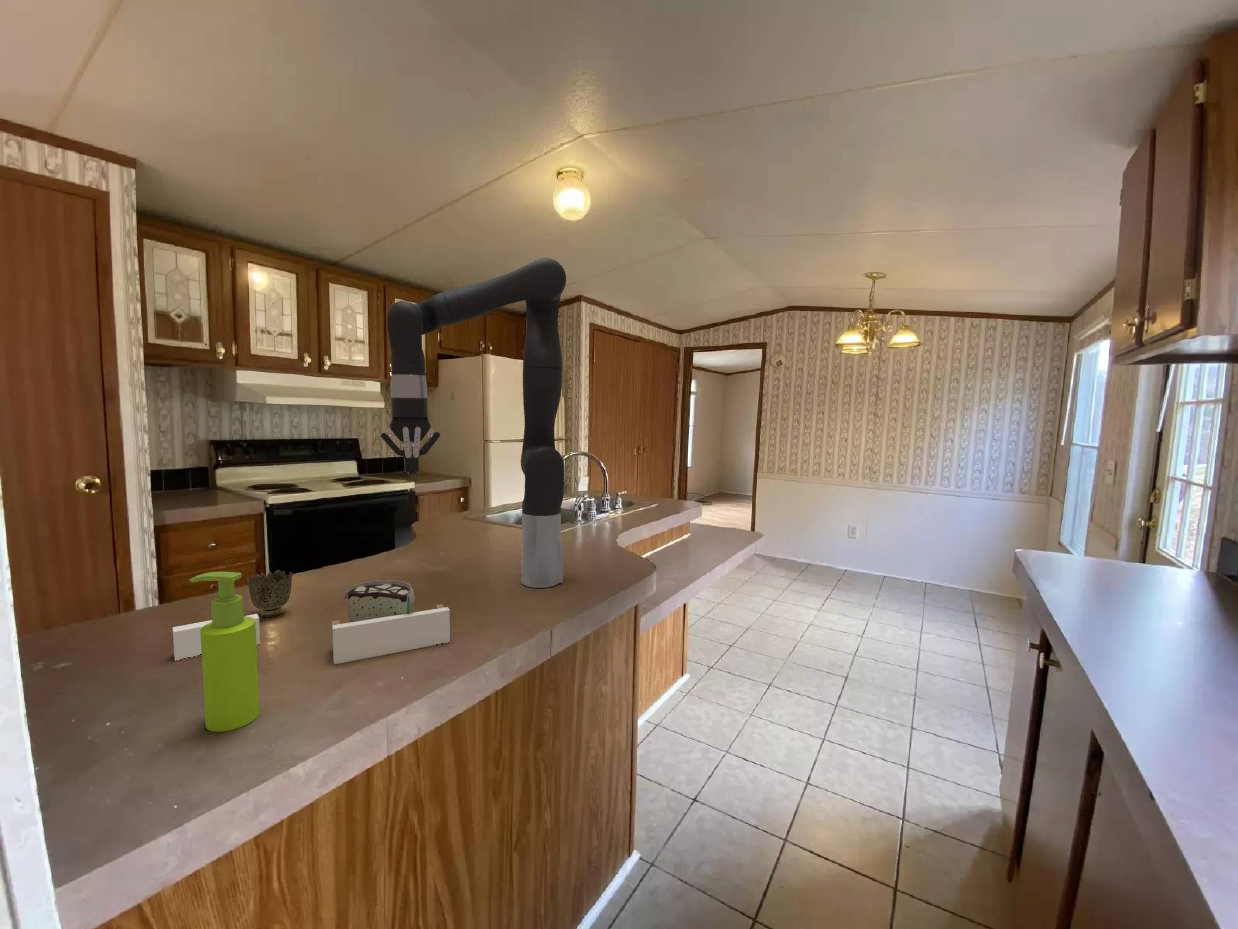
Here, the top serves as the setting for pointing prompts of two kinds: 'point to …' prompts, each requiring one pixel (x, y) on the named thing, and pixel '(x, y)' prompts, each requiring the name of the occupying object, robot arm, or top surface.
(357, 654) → the back stop bracket
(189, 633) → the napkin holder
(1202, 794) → the top surface
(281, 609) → the cup
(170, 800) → the top surface
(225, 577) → the soap dispenser
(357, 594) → the food container
